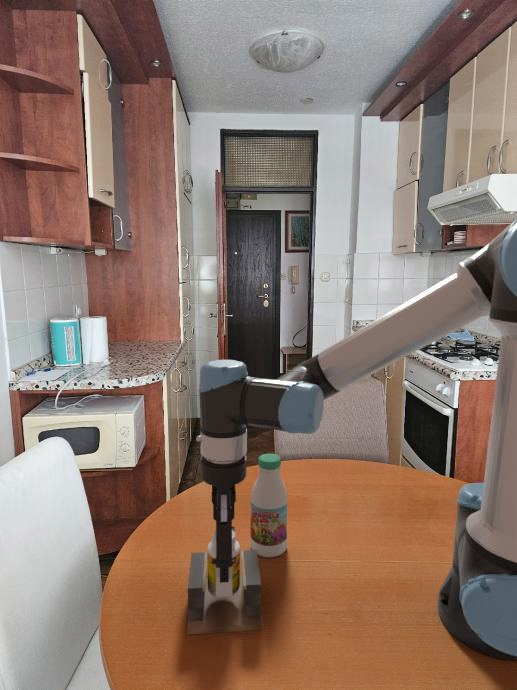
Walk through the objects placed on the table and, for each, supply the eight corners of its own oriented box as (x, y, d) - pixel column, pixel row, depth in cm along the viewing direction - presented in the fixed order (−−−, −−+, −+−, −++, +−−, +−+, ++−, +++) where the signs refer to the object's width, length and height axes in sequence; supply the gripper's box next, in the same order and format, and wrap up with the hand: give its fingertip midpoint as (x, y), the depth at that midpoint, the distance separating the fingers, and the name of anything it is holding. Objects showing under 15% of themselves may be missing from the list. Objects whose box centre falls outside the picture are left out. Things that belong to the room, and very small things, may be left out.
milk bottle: (251, 535, 95) (251, 449, 92) (286, 536, 95) (288, 450, 92) (249, 558, 88) (249, 465, 84) (287, 559, 87) (289, 466, 84)
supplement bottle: (221, 605, 71) (221, 549, 69) (201, 587, 75) (200, 534, 73) (246, 588, 75) (246, 534, 73) (225, 572, 79) (225, 521, 77)
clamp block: (256, 578, 82) (256, 544, 81) (262, 629, 70) (262, 591, 69) (192, 581, 81) (191, 547, 80) (187, 634, 69) (186, 595, 68)
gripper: (202, 434, 80) (204, 548, 84) (197, 482, 61) (199, 626, 65) (243, 433, 80) (243, 547, 84) (249, 481, 62) (249, 623, 66)
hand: (224, 581), depth 75 cm, fingers closed on supplement bottle, 6 cm apart
